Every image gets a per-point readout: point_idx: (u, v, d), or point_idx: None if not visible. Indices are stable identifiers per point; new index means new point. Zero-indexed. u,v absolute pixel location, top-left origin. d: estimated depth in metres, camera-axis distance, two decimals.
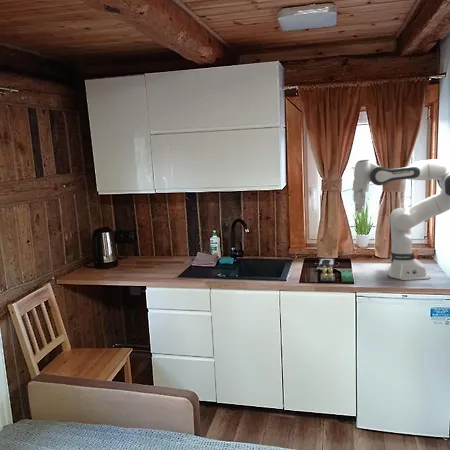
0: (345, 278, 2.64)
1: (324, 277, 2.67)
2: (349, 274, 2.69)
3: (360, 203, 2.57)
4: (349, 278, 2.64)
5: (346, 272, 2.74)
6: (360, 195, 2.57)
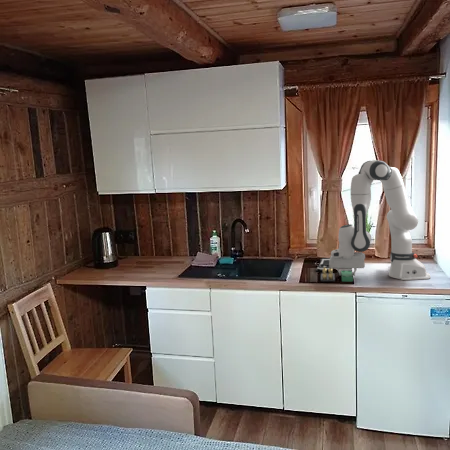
0: (345, 278, 2.64)
1: (324, 277, 2.67)
2: (349, 274, 2.69)
3: (364, 265, 2.67)
4: (349, 278, 2.64)
5: (346, 272, 2.74)
6: (363, 258, 2.66)
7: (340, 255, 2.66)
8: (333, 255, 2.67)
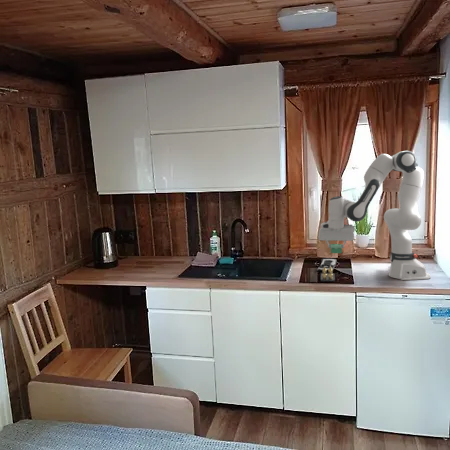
0: (334, 250, 2.63)
1: (324, 277, 2.67)
2: (338, 246, 2.68)
3: None
4: (338, 250, 2.62)
5: (335, 245, 2.73)
6: (352, 230, 2.65)
7: (330, 227, 2.65)
8: (323, 227, 2.66)
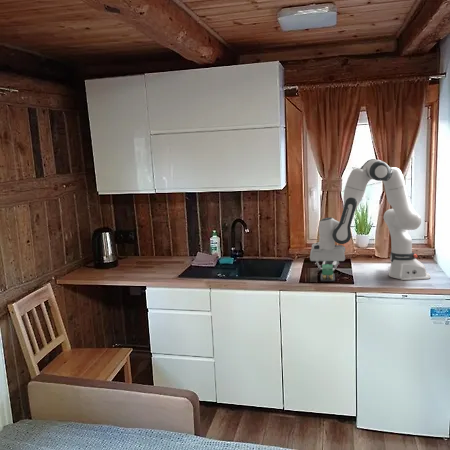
0: (325, 271, 2.66)
1: (324, 277, 2.67)
2: (329, 267, 2.71)
3: None
4: (329, 271, 2.65)
5: (327, 265, 2.76)
6: (343, 250, 2.68)
7: (320, 248, 2.68)
8: (314, 248, 2.69)
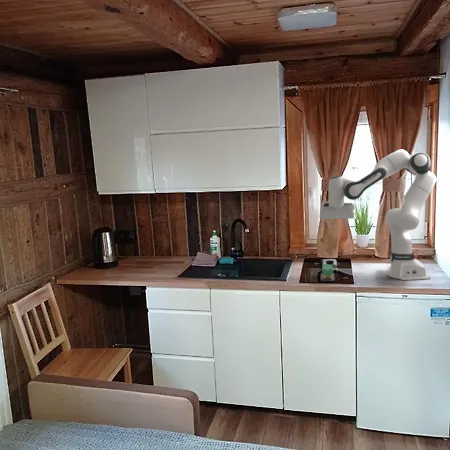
0: (325, 271, 2.66)
1: (324, 277, 2.67)
2: (329, 267, 2.71)
3: None
4: (329, 271, 2.65)
5: (327, 265, 2.76)
6: (352, 208, 2.73)
7: (330, 205, 2.73)
8: (323, 206, 2.74)
